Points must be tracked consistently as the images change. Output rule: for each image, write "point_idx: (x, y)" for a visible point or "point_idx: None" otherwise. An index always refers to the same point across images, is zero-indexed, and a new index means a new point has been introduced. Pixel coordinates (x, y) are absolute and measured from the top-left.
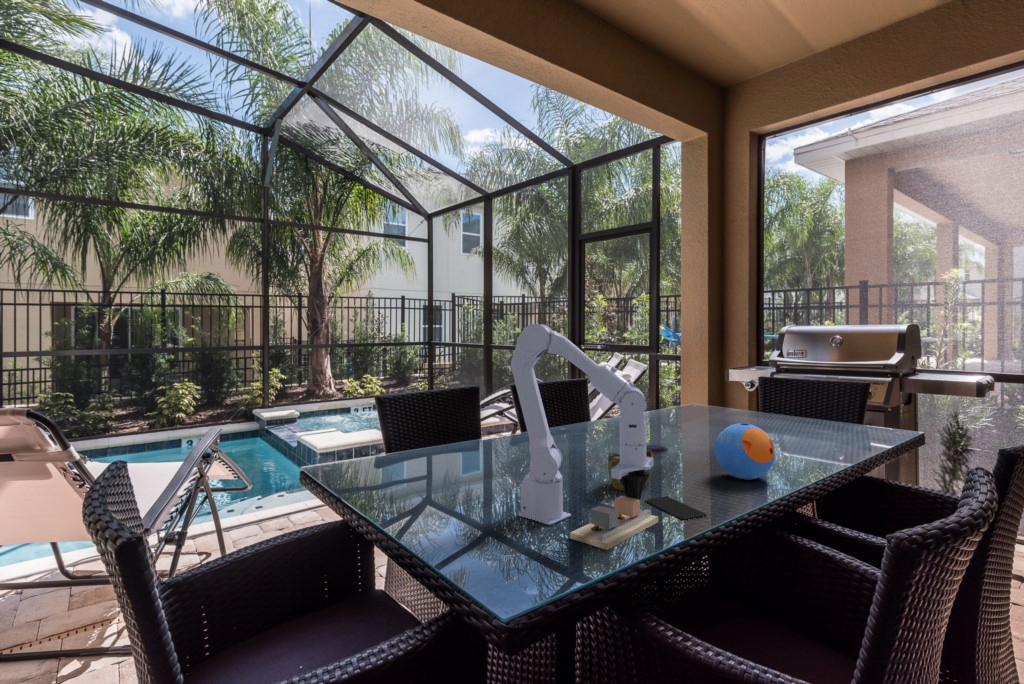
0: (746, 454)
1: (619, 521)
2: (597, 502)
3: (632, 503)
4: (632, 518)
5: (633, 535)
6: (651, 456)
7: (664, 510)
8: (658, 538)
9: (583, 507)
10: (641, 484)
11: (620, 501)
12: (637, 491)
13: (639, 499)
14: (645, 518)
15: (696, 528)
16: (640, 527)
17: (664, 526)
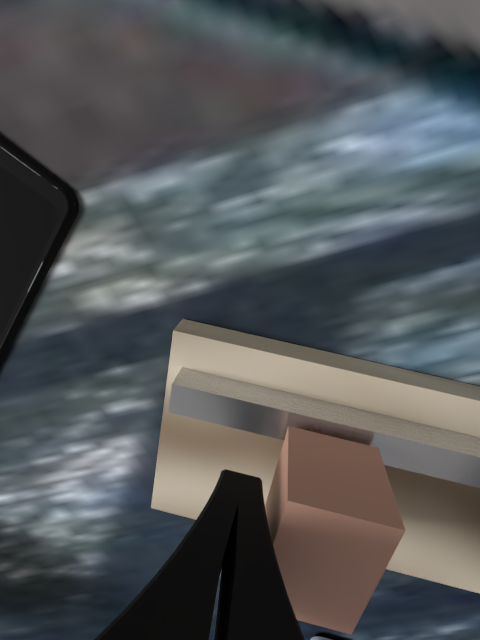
0: None
1: None
2: (101, 586)
3: (403, 529)
4: (372, 443)
5: (450, 380)
6: None
7: (11, 332)
8: (440, 249)
9: None
10: (208, 630)
11: (366, 594)
12: (279, 584)
13: (230, 498)
14: (246, 383)
15: (155, 74)
16: (381, 374)
17: (228, 271)
